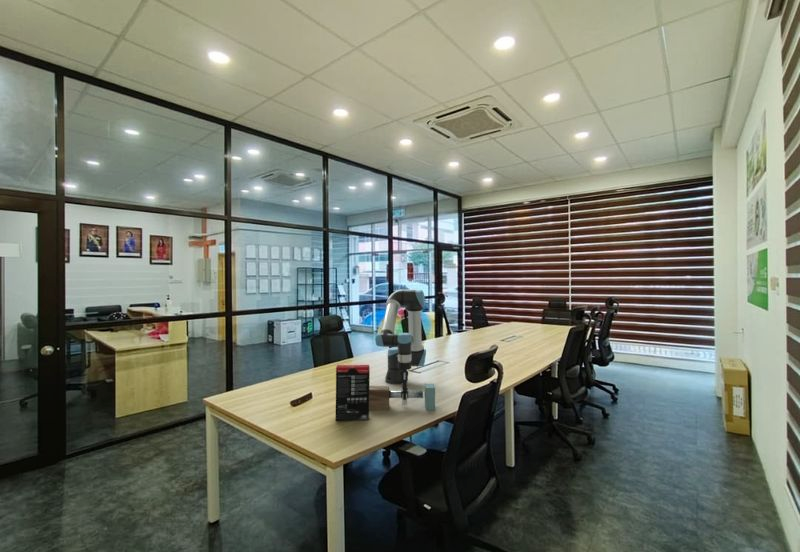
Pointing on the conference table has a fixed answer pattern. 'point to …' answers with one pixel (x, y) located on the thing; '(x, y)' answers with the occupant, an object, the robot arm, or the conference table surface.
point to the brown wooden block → (378, 397)
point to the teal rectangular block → (429, 396)
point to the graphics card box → (352, 392)
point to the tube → (409, 394)
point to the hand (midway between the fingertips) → (404, 403)
